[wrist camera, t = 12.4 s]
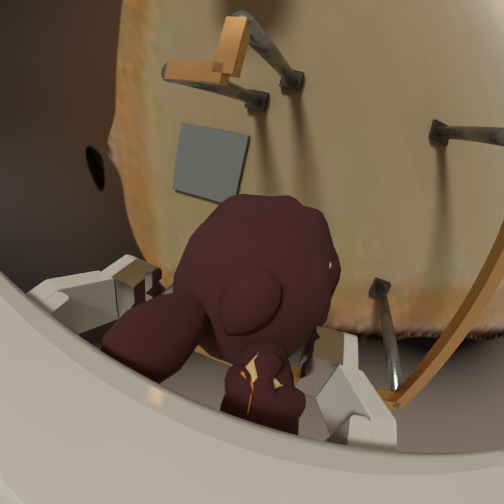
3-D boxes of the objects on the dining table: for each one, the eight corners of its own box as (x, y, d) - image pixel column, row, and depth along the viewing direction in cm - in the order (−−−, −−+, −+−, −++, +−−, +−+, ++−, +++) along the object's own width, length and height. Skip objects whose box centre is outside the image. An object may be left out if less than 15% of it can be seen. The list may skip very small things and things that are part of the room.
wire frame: (448, 127, 20) (554, 136, 6) (383, 296, 30) (400, 415, 15) (257, 65, 24) (168, 3, 9) (219, 241, 33) (134, 326, 19)
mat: (249, 136, 27) (248, 136, 27) (234, 205, 31) (233, 206, 30) (184, 123, 28) (182, 123, 28) (174, 187, 32) (172, 188, 32)
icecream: (359, 208, 17) (417, 426, 3) (299, 289, 20) (239, 492, 7) (267, 149, 17) (63, 216, 4) (219, 239, 20) (71, 394, 7)
